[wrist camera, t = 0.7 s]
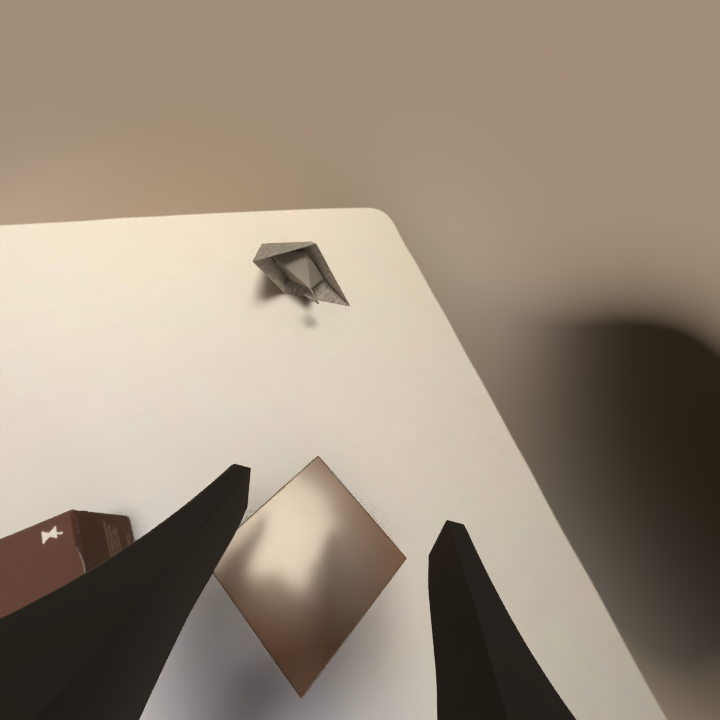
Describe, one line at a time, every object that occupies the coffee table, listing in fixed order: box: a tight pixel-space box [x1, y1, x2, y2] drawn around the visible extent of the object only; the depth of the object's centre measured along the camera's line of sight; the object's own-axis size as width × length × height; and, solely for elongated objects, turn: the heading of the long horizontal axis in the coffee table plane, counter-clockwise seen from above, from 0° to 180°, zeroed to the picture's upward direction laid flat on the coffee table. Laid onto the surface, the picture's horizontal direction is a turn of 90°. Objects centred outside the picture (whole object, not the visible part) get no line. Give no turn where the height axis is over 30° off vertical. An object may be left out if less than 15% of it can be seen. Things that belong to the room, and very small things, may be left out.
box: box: [0, 510, 133, 618], centre depth 17 cm, size 6×6×7 cm
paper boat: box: [253, 242, 350, 306], centre depth 33 cm, size 12×6×9 cm
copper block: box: [213, 456, 406, 698], centre depth 23 cm, size 10×10×2 cm
